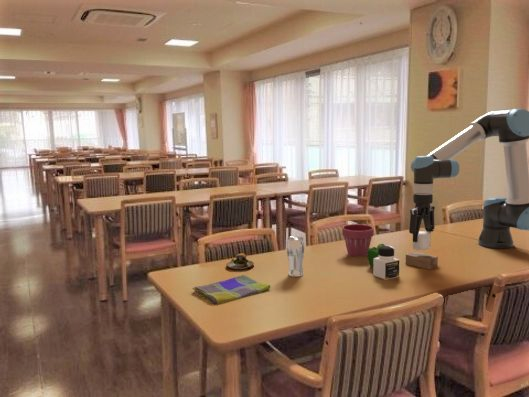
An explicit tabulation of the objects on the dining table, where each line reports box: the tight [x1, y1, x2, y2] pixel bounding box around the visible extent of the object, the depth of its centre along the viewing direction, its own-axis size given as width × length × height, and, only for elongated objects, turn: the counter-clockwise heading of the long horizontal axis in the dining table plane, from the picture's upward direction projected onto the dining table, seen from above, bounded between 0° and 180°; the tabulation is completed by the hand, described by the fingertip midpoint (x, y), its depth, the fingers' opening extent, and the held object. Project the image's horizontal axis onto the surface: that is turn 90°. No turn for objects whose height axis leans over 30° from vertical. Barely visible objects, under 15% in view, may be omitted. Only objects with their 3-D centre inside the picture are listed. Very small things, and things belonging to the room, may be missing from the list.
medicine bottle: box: [372, 244, 400, 281], centre depth 177 cm, size 7×7×12 cm
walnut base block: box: [405, 251, 439, 270], centre depth 191 cm, size 6×11×4 cm, turn 37°
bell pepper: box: [367, 243, 385, 268], centre depth 189 cm, size 8×8×10 cm
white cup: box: [419, 230, 432, 251], centre depth 190 cm, size 7×7×7 cm
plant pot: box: [341, 223, 375, 258], centre depth 209 cm, size 14×14×13 cm
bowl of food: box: [226, 249, 255, 270], centre depth 195 cm, size 12×12×8 cm
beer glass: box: [286, 236, 305, 278], centre depth 182 cm, size 7×7×15 cm
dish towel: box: [192, 274, 271, 305], centre depth 166 cm, size 18×24×3 cm
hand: (421, 247), depth 190 cm, fingers closed on white cup, 7 cm apart
